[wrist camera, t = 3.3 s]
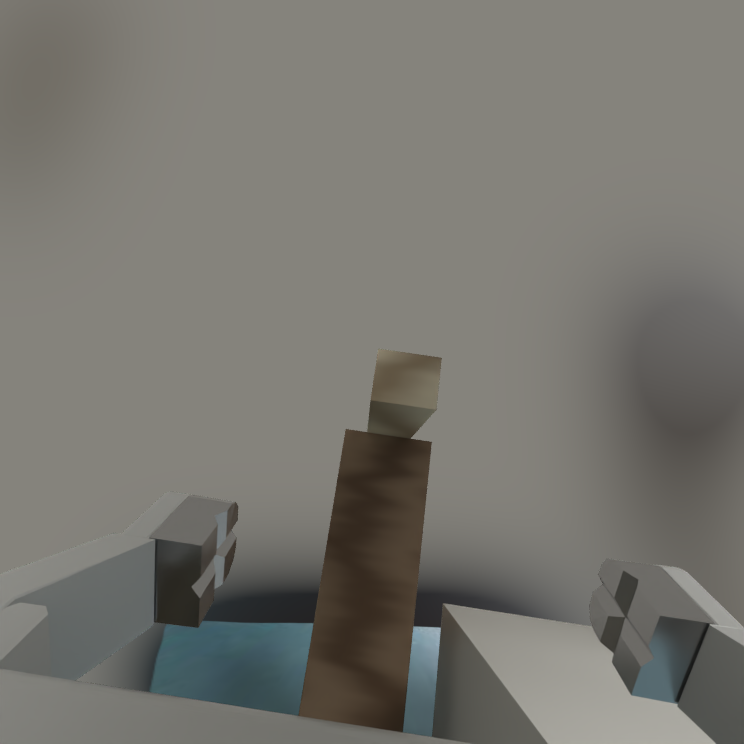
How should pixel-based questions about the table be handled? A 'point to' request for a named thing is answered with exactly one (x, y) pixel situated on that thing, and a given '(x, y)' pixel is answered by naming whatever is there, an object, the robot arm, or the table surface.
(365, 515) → the post
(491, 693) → the white upright block
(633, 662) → the robot arm
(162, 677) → the table surface
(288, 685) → the table surface
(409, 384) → the slat
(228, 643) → the table surface
